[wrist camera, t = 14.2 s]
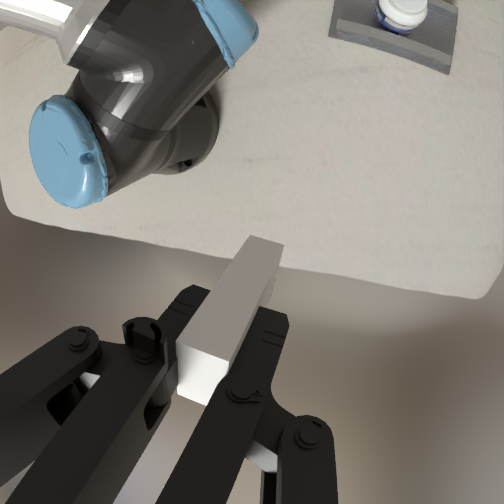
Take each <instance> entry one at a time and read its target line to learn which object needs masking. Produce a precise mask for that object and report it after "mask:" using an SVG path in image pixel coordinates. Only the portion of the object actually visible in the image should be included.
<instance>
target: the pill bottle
mask: <svg viewBox="0 0 504 504" xmlns="http://www.w3.org/2000/svg"><path fill="white" fill-rule="evenodd" d="M427 11H428V8H427V0H377V4H376V8H375V19H376V22H377V23H378V25H379V26H380V27H381V28H382V29H383V30H384V31H387V32H390V33H393V34H396V35H399V36H406V35H408V34H410V33H411V32H412V31H414V30H415V28H416V27H417V26H418V25H419V24H420V23H421V22H422V21H424V19H425V17H426V15H427Z"/></svg>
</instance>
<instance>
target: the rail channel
mask: <svg viewBox="0 0 504 504" xmlns="http://www.w3.org/2000/svg"><path fill="white" fill-rule="evenodd" d="M376 4H377V0H335V2H334V7H333V13H332V18H331V24H330V29H329V35H328V36H329V37H332V38H336V39H341V40H345V41H349V42H353V43H357V44H361V45H364V46H368V47H371V48H375V49H378V50H381V51H385V52H388V53H391V54H394V55H397V56H400V57H403V58H406V59H408V60H411V61H414V62H416V63H419V64H422V65H424V66H427V67H429V68H432V69H434V70H436V71H439V72H441V73H443V74H446V75H449V72H450V67H451V61H452V55H453V48H454V41H455V34H456V25H457V16H458V12H457V9H458V7H456V6H454V5H452V4H450V3H447V2H445V1H443V0H427V8H428V11H427V15H426V17H425V19H424V21H422V22H421V23H420V24H419V25H418V26H417V27H416V28H415V30H414V31H412V32H411V33H410V34H408V35H406V36H399V35H396V34H393V33H390V32H387V31H384V30H383V29H382V28H381V27H380V26H379V25H378V23H377V22H376V19H375V8H376Z"/></svg>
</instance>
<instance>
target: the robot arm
mask: <svg viewBox="0 0 504 504" xmlns="http://www.w3.org/2000/svg"><path fill="white" fill-rule="evenodd" d="M0 23H1V24H5V25H8V26H12V27H15V28H18V29H22V30H25V31H28V32H31V33H34V34H37V35H40V36H43V37H46V38H49V39H52V40H55V41H56V43H57V45H58V47H59V50H60V53H61V57H62V60H63V63H64V64H66V65H69V66H72V67H74V68H77V69H79V72H78V73H77V75H76V77H75V79H74V80H73V82H72V84H71V86H70V88H69V90H68V91H67V93H66V94H65V95H54V96H52V97H51V98H49V99H48V100H45V101H43V102H42V103H41V104H40V105H39V106H38V107H37V109H36V110H35V112H34V114H33V117H32V120H31V124H30V130H29V148H30V154H31V158H32V163H33V166H34V169H35V172H36V174H37V176H38V178H39V180H40V182H41V184H42V186H43V187H44V189H45V190H46V191H47V193H48V194H49V195H50V196H51V197H52V198H53V199H54V200H55V201H57V202H58V203H59V204H61V205H63V206H66V207H70V208H74V209H76V208H82V207H85V206H87V205H90V204H92V203H96V202H100V201H102V200H103V198H105V197H106V196H108V195H110V194H112V193H114V192H116V191H118V190H120V189H122V188H124V187H125V186H127V185H129V184H131V183H133V182H135V181H137V180H139V179H141V178H143V177H145V176H148V175H150V174H151V173H153V174H166V175H172V174H178V173H182V172H185V171H187V170H189V169H191V168H193V167H195V166H196V165H198V164H199V163H201V162H202V161H203V160H204V159H205V158H206V157H207V156H208V154H209V153H210V151H211V150H212V148H213V146H214V143H215V141H216V137H217V133H218V114H217V110H216V106H215V104H214V101H213V99H212V97H211V96H210V94H209V93H208V90H209V89H210V88H211V87H212V86H213V85H214V84H215V83H216V82H217V81H218V80H219V79H220V78H221V77H222V76H223V75H224V74H225V73H226V72H227V71H228V70H229V69H230V70H231V69H233V68H234V66H235V62H236V61H237V60H238V59H239V58H240V57H241V56H242V55H243V54H244V53H245V52H246V51H247V50H248V49H249V48H250V47H251V46H252V45H253V44H254V43H255V41H256V40H257V38H258V34H259V29H258V25H257V23H256V21H255V19H254V18H253V17H252V16H251V14H250V13H249V12H248V11H247V10H246V8H245V7H244V6H243V5H242V4H241V3H240V2H239V1H238V0H0ZM283 247H284V245H282V244H279V243H276V242H272V241H269V240H265V239H262V238H259V237H255V236H252V235H250V236H249V237H248V239H247V240H246V242H245V243H244V245H243V246H242V247H241V249H240V250H239V252H238V253H237V254H236V256H235V257H234V259H233V260H232V261H231V263H230V264H229V266H228V267H227V269H226V270H225V271H224V273H223V274H222V276H221V277H220V278H219V280H218V281H217V283H216V284H215V286H214V287H213V288H212V290H211V291H210V290H208V289H205V288H202V287H199V286H196V285H191V286H189V287H187V288H185V289H183V290H182V291H181V292H180V293H179V294H178V296H177V297H176V298H175V299H174V301H173V302H172V303H171V304H170V305H169V306H168V309H166V310H165V311H164V313H163V314H162V315H161V316H160V318H159V319H158V320H155V319H152V318H148V317H136V318H133V319H130V320H128V321H127V322H125V323H124V324H123V325H122V328H123V333H124V339H125V344H116V343H111V342H105V341H100V340H99V338H98V335H97V334H96V333H95V331H94V330H92V329H90V328H89V327H84V326H77V327H72V328H70V329H68V330H66V331H64V332H63V333H61V334H60V335H58V336H57V337H55V338H54V339H52V340H51V341H49V342H48V343H46V344H45V345H43V346H42V347H40V348H39V349H37V350H36V351H34V352H33V353H31V354H30V355H28V356H27V357H25V358H24V359H22V360H21V361H19V362H18V363H16V364H15V365H14V366H12V367H11V368H9V369H8V370H6V371H5V372H3V373H2V374H0V487H1V486H2V485H4V484H5V483H6V482H8V481H9V480H10V479H12V478H13V477H14V476H15V475H17V474H18V473H19V472H21V471H22V470H23V469H25V468H26V467H27V466H28V465H30V464H31V463H32V462H33V461H35V462H34V463H33V465H32V466H31V467H30V469H29V470H28V471H27V473H26V474H25V476H24V477H23V478H22V480H21V481H20V483H19V484H18V486H17V487H16V488H15V490H14V491H13V493H12V494H11V496H10V497H9V499H8V500H7V502H6V503H5V504H113V502H114V500H115V499H116V497H117V495H118V493H119V492H120V490H121V488H122V487H123V485H124V484H125V482H126V480H127V479H128V477H129V475H130V474H131V472H132V470H133V468H134V467H135V465H136V463H137V462H138V460H139V458H140V457H141V455H142V453H143V452H144V450H145V448H146V447H147V445H148V443H149V442H150V440H151V438H152V436H153V435H154V433H155V431H156V430H157V428H158V426H159V425H160V423H161V421H162V420H163V418H164V416H165V414H166V413H167V411H168V409H169V408H170V404H171V396H172V394H173V392H174V390H175V389H176V387H177V390H178V391H177V393H178V394H179V395H181V396H184V397H186V398H188V399H191V400H193V401H196V402H198V403H201V404H203V405H206V408H205V410H204V412H203V414H202V416H201V418H200V420H199V422H198V424H197V426H196V427H195V429H194V431H193V434H192V435H191V437H190V439H189V441H188V443H187V445H186V447H185V449H184V451H183V453H182V454H181V456H180V458H179V460H178V462H177V464H176V466H175V468H174V470H173V471H172V473H171V475H170V477H169V479H168V481H167V483H166V484H165V486H164V488H163V490H162V492H161V494H160V496H159V497H158V499H157V501H156V503H155V504H226V502H227V500H228V497H229V495H230V492H231V490H232V488H233V485H234V483H235V480H236V478H237V475H238V473H239V470H240V468H241V465H242V463H243V460H244V458H246V459H247V460H249V461H250V462H252V463H253V464H255V465H256V466H258V467H259V468H261V469H262V473H261V490H260V504H338V492H337V475H336V462H335V450H334V438H333V434H332V431H331V429H330V427H329V426H328V425H327V424H326V423H325V422H324V421H323V420H321V419H319V418H317V417H314V416H309V415H304V416H297V417H295V416H294V415H293V414H291V413H289V412H288V411H286V410H285V409H283V408H282V407H281V406H280V405H278V403H277V402H276V401H275V399H274V398H273V395H272V393H271V382H272V379H273V376H274V373H275V370H276V366H277V364H278V360H279V357H280V354H281V351H282V348H283V345H284V342H285V339H286V335H287V332H288V329H289V322H288V318H287V315H286V314H284V313H280V312H277V311H274V310H271V309H267V308H266V307H267V304H268V302H269V300H270V297H271V295H272V291H273V287H274V283H275V279H276V275H277V271H278V267H279V263H280V259H281V255H282V251H283Z"/></svg>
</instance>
